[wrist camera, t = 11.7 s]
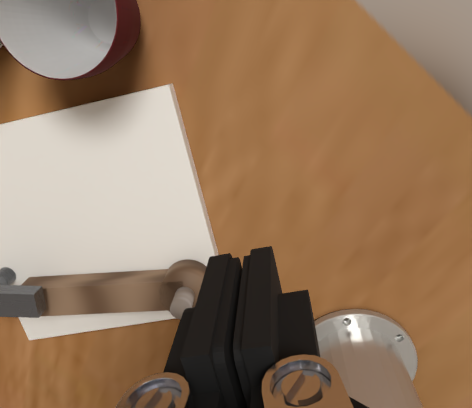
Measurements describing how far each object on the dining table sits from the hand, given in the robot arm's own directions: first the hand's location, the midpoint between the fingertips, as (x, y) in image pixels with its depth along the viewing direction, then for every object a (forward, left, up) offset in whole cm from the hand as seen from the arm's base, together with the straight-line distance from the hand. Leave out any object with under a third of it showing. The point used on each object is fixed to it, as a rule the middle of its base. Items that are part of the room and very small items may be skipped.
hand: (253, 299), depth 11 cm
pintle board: (-6, +18, -27) cm, 33 cm away
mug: (+12, +10, -27) cm, 31 cm away
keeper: (-10, +26, -26) cm, 38 cm away
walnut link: (-12, +17, -25) cm, 33 cm away
